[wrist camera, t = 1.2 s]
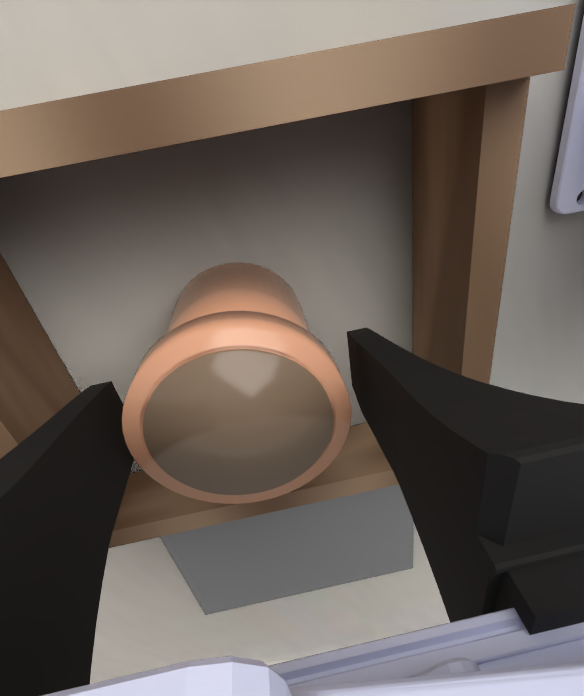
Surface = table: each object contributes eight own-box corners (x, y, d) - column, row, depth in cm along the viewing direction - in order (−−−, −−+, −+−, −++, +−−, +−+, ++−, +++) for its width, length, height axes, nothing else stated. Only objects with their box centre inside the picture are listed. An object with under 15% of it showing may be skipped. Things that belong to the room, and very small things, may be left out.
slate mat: (412, 462, 20) (413, 465, 20) (411, 564, 25) (412, 567, 25) (152, 518, 20) (151, 522, 20) (205, 611, 25) (205, 614, 25)
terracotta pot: (300, 237, 14) (341, 308, 8) (320, 369, 17) (359, 482, 11) (139, 269, 13) (77, 361, 8) (189, 396, 16) (167, 524, 11)
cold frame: (446, 50, 11) (575, 3, 7) (431, 423, 19) (488, 510, 15) (-97, 152, 11) (-314, 169, 7) (114, 492, 19) (78, 601, 14)
